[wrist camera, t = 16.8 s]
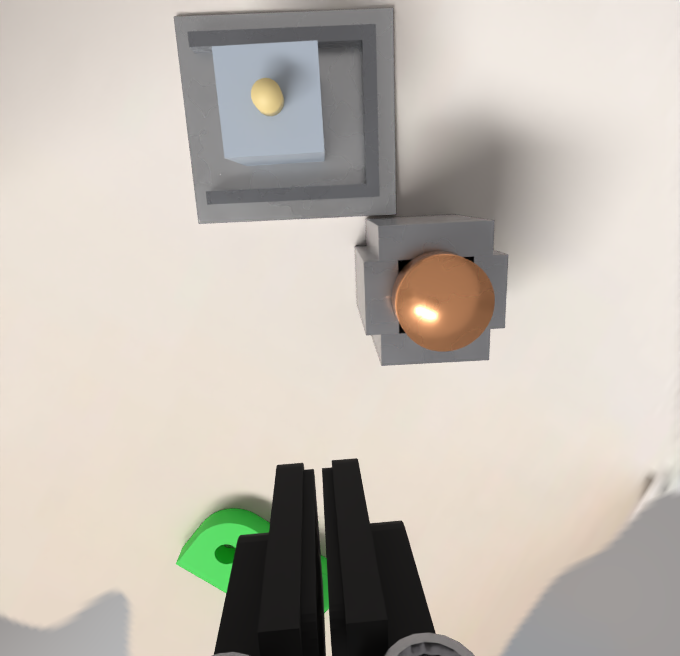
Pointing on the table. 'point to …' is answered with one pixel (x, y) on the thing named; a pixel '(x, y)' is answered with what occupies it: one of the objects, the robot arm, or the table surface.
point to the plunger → (442, 300)
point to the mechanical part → (214, 558)
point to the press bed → (337, 114)
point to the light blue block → (270, 102)
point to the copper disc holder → (408, 243)
